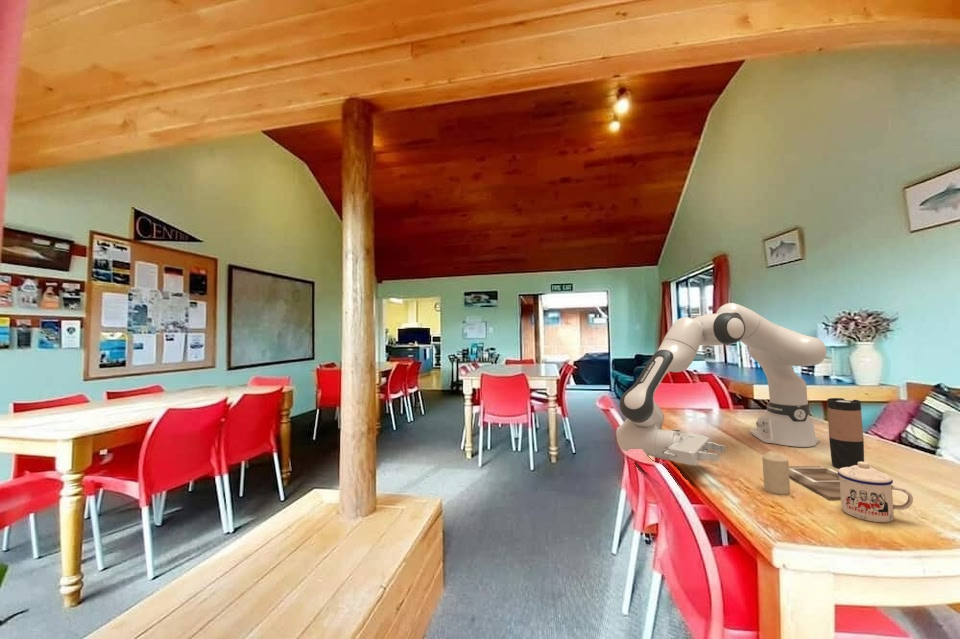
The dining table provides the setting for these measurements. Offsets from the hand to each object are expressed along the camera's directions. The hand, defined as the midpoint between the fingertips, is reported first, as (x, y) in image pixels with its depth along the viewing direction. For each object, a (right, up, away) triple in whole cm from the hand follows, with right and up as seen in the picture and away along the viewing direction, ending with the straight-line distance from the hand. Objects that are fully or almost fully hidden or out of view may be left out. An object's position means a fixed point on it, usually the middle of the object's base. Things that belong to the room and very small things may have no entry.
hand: (721, 453), depth 114 cm
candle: (+10, -7, -8) cm, 15 cm away
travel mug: (+41, -6, +6) cm, 42 cm away
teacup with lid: (+21, -7, -23) cm, 32 cm away
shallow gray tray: (+25, -7, -4) cm, 26 cm away
